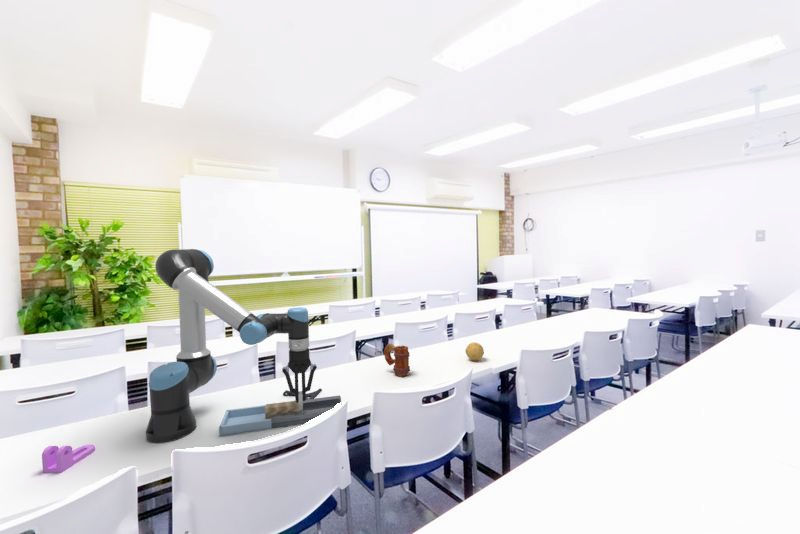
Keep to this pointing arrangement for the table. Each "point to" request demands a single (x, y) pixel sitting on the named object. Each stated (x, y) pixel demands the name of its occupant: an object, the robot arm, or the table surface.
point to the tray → (244, 421)
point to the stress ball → (474, 351)
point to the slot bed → (305, 412)
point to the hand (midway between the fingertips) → (300, 409)
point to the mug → (398, 359)
